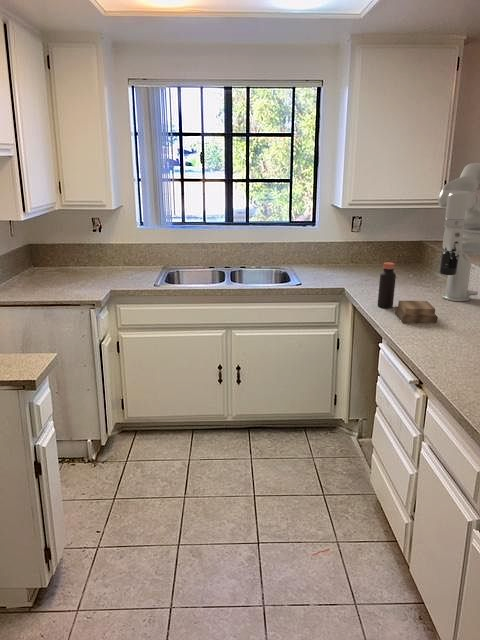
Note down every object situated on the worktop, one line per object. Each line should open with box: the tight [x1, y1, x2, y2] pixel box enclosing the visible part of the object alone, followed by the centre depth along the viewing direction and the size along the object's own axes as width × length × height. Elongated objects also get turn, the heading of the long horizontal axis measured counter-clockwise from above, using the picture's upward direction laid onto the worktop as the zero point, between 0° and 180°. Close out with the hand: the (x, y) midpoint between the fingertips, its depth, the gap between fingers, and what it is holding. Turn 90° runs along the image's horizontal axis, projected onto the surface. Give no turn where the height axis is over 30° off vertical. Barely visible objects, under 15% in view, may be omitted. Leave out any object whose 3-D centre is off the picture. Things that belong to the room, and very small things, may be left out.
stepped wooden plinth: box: [394, 300, 438, 324], centre depth 219 cm, size 14×14×6 cm
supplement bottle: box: [438, 248, 459, 276], centre depth 216 cm, size 7×7×12 cm
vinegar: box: [377, 261, 397, 309], centre depth 234 cm, size 7×7×20 cm
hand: (448, 266), depth 217 cm, fingers closed on supplement bottle, 6 cm apart
